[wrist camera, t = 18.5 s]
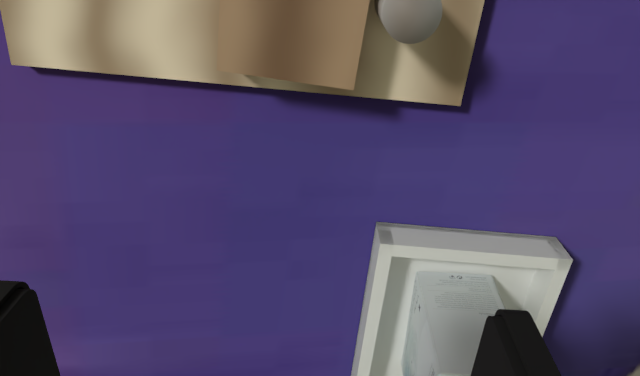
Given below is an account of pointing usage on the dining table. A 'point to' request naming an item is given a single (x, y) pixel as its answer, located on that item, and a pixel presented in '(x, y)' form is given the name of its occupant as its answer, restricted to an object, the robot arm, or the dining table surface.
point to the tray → (449, 257)
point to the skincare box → (447, 322)
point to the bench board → (202, 44)
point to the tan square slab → (293, 39)
